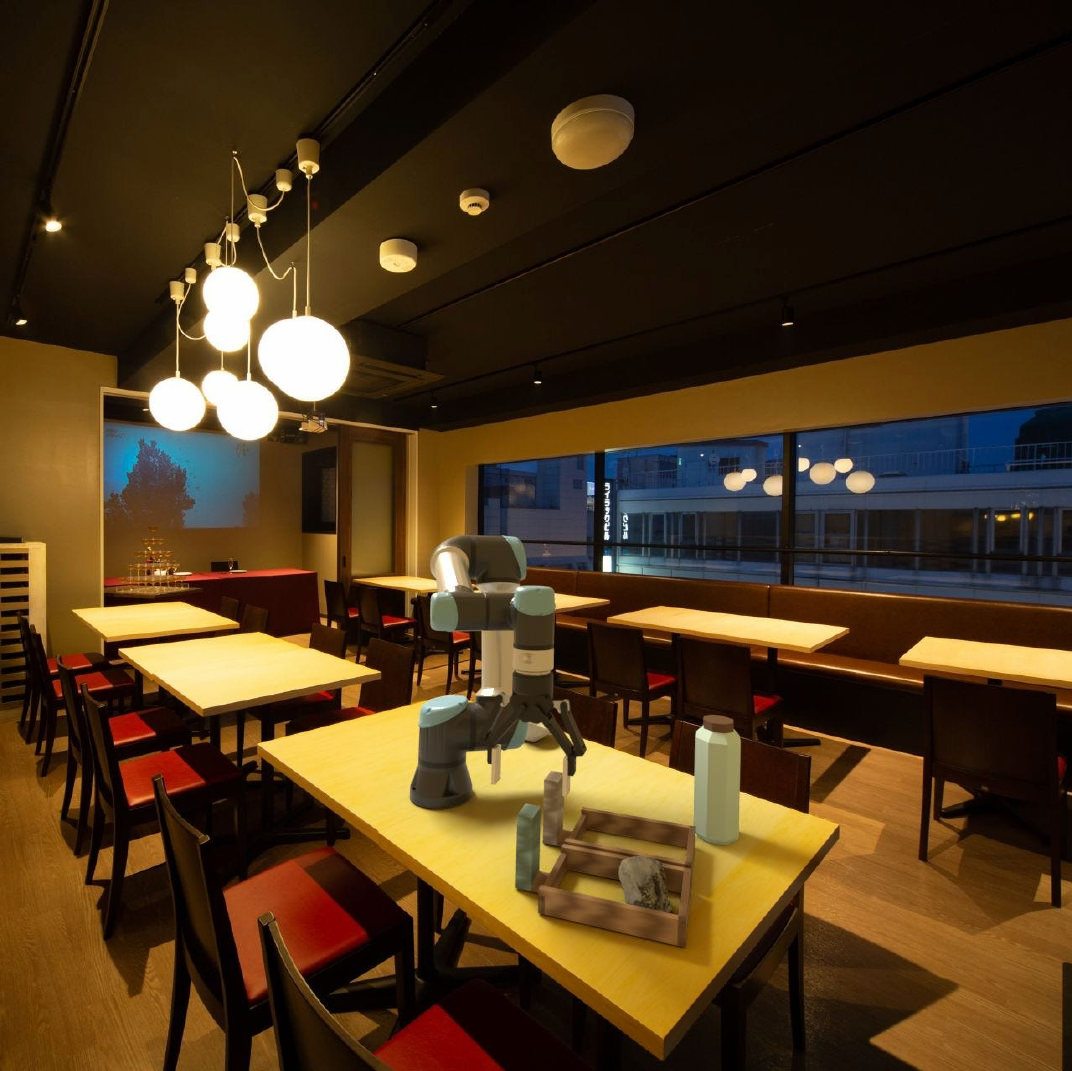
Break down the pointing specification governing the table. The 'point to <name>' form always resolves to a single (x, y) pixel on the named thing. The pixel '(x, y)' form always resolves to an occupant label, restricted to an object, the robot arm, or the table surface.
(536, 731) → the bowl
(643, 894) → the stone
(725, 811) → the water bottle
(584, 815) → the empty lane
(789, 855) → the table surface
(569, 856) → the frame
